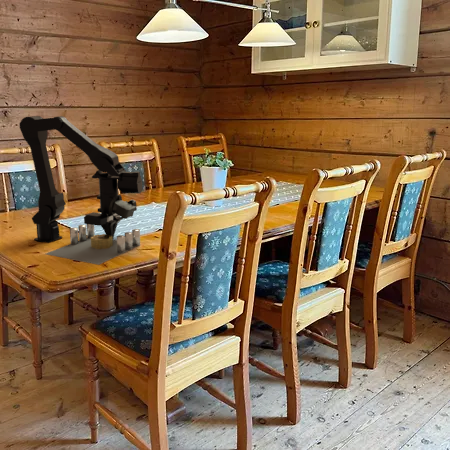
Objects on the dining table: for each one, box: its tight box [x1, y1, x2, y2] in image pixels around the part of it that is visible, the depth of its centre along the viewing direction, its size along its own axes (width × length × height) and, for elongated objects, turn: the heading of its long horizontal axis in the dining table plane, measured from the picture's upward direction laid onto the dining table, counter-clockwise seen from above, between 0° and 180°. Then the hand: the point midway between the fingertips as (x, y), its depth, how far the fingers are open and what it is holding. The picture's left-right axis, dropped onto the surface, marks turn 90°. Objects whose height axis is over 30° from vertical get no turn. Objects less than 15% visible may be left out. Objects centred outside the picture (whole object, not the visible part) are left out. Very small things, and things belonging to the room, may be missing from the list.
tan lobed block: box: [91, 233, 114, 249], centre depth 155 cm, size 6×6×3 cm
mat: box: [45, 238, 138, 266], centre depth 152 cm, size 20×21×1 cm
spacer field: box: [69, 224, 141, 254], centre depth 156 cm, size 20×10×5 cm, turn 66°
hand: (111, 239), depth 159 cm, fingers closed
